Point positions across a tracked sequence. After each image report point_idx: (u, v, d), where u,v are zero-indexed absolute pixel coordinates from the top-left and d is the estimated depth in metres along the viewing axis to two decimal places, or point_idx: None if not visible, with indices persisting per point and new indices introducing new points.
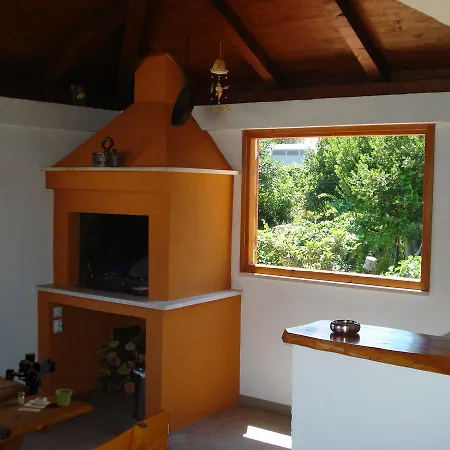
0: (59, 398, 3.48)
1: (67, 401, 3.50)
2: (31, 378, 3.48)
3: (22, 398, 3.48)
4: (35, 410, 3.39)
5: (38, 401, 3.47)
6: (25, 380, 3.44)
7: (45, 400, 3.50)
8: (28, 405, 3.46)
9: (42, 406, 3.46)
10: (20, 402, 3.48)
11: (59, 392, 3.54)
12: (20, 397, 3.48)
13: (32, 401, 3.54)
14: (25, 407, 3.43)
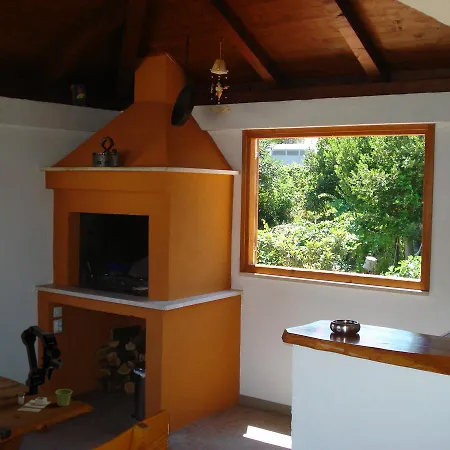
0: (59, 398, 3.48)
1: (67, 401, 3.50)
2: None
3: (22, 398, 3.48)
4: (35, 410, 3.39)
5: (38, 401, 3.47)
6: None
7: (45, 400, 3.50)
8: (28, 405, 3.46)
9: (42, 406, 3.46)
10: (20, 402, 3.48)
11: (59, 392, 3.54)
12: (20, 397, 3.48)
13: (32, 401, 3.54)
14: (25, 407, 3.43)
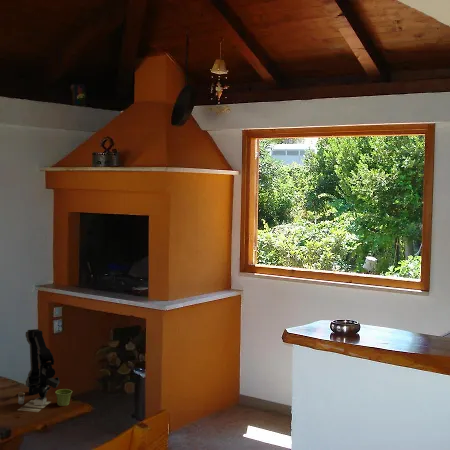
0: (59, 398, 3.48)
1: (67, 401, 3.50)
2: None
3: (22, 398, 3.48)
4: (35, 410, 3.39)
5: (38, 401, 3.47)
6: None
7: (45, 400, 3.49)
8: (28, 405, 3.46)
9: (42, 406, 3.46)
10: (20, 402, 3.48)
11: (59, 392, 3.54)
12: (20, 397, 3.48)
13: (32, 401, 3.54)
14: (25, 407, 3.43)
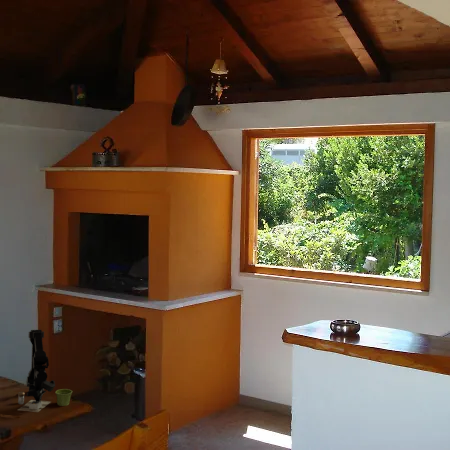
0: (59, 398, 3.48)
1: (67, 401, 3.50)
2: None
3: (22, 398, 3.48)
4: (35, 410, 3.39)
5: (33, 405, 3.40)
6: None
7: (40, 404, 3.43)
8: (28, 405, 3.46)
9: (42, 406, 3.46)
10: (20, 402, 3.48)
11: (59, 392, 3.54)
12: (20, 397, 3.48)
13: None
14: (25, 407, 3.43)
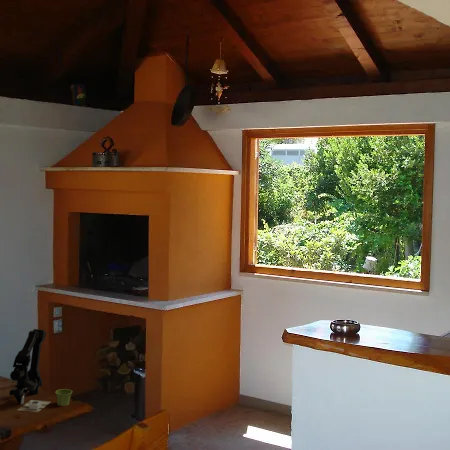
0: (59, 398, 3.48)
1: (67, 401, 3.50)
2: None
3: (22, 398, 3.48)
4: (35, 410, 3.39)
5: (32, 405, 3.40)
6: None
7: (40, 404, 3.43)
8: (28, 405, 3.46)
9: (42, 406, 3.46)
10: None
11: (59, 392, 3.54)
12: None
13: None
14: (25, 407, 3.43)
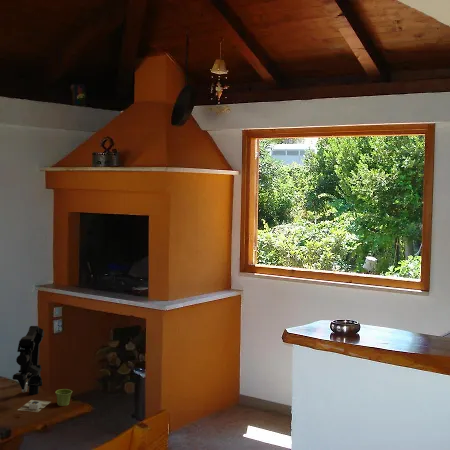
0: (59, 398, 3.48)
1: (67, 401, 3.50)
2: None
3: (26, 383, 3.43)
4: (35, 410, 3.39)
5: (32, 405, 3.40)
6: None
7: (40, 404, 3.43)
8: (28, 405, 3.46)
9: (42, 406, 3.46)
10: None
11: (59, 392, 3.54)
12: None
13: None
14: (25, 407, 3.43)
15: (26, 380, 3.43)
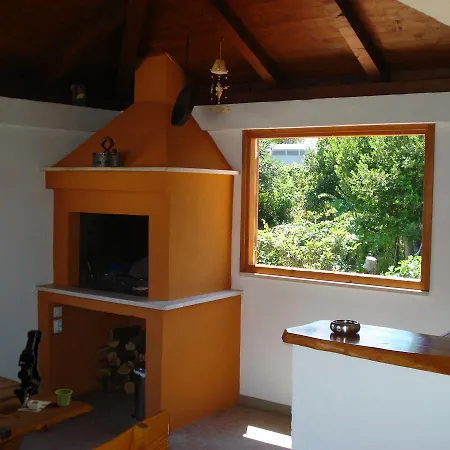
0: (59, 398, 3.48)
1: (67, 401, 3.50)
2: None
3: (26, 399, 3.42)
4: (35, 410, 3.39)
5: (32, 405, 3.40)
6: None
7: (40, 404, 3.43)
8: (28, 405, 3.46)
9: (42, 406, 3.46)
10: (24, 403, 3.42)
11: (59, 392, 3.54)
12: None
13: None
14: None
15: (27, 396, 3.42)
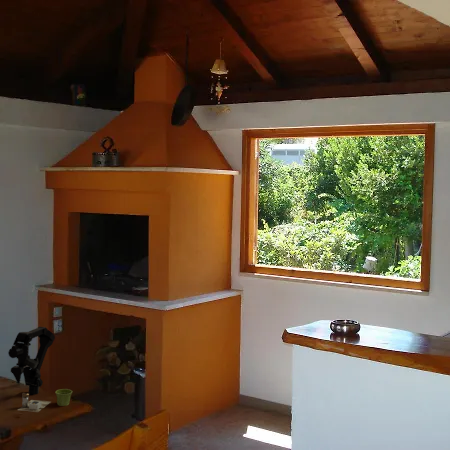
0: (59, 398, 3.48)
1: (67, 401, 3.50)
2: None
3: (26, 399, 3.42)
4: (35, 410, 3.39)
5: (32, 405, 3.40)
6: None
7: (40, 404, 3.43)
8: (28, 405, 3.46)
9: (42, 406, 3.46)
10: (24, 403, 3.42)
11: (59, 392, 3.54)
12: (24, 398, 3.42)
13: None
14: None
15: (27, 396, 3.42)
